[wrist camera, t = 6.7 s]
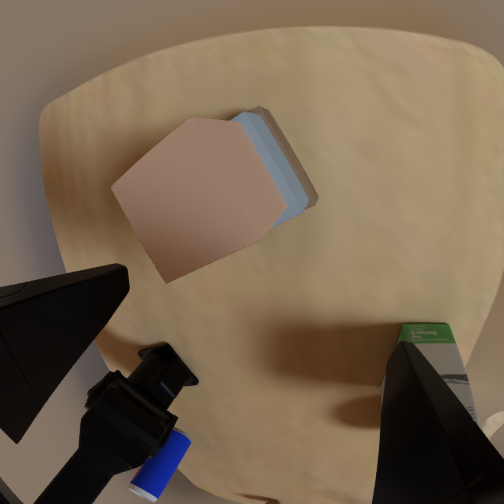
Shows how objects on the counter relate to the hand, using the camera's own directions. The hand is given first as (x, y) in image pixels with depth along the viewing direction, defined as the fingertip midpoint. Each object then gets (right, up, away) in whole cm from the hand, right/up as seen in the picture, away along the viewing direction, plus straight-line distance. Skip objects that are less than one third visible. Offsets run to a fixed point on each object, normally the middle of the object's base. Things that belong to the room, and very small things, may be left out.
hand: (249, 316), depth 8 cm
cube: (-1, +5, +7) cm, 9 cm away
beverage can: (-13, -31, +33) cm, 47 cm away
